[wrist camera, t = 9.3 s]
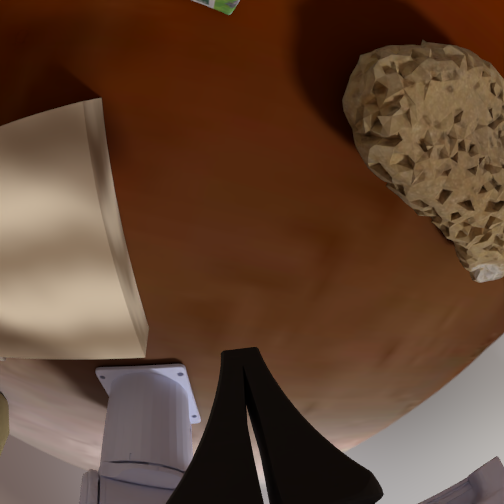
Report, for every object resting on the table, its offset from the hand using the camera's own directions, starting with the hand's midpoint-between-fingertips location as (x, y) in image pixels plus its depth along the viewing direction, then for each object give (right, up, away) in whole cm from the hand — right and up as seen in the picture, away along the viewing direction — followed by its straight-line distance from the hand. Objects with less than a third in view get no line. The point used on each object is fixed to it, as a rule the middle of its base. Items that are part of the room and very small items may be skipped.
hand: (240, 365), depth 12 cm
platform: (-14, +5, +6) cm, 16 cm away
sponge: (+14, +11, +7) cm, 20 cm away
